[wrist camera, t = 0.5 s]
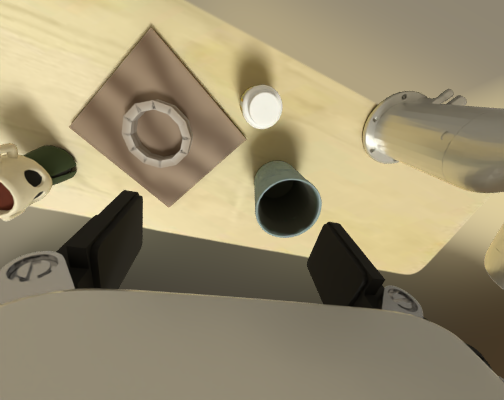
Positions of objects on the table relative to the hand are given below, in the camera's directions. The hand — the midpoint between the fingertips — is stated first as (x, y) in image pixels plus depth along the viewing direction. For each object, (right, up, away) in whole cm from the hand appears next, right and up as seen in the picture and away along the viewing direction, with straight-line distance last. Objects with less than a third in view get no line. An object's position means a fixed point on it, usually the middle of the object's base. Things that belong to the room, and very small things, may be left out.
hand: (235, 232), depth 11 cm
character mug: (-33, +8, +27) cm, 43 cm away
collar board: (-14, +13, +26) cm, 32 cm away
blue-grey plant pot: (+5, +6, +32) cm, 33 cm away
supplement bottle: (+2, +18, +25) cm, 31 cm away
